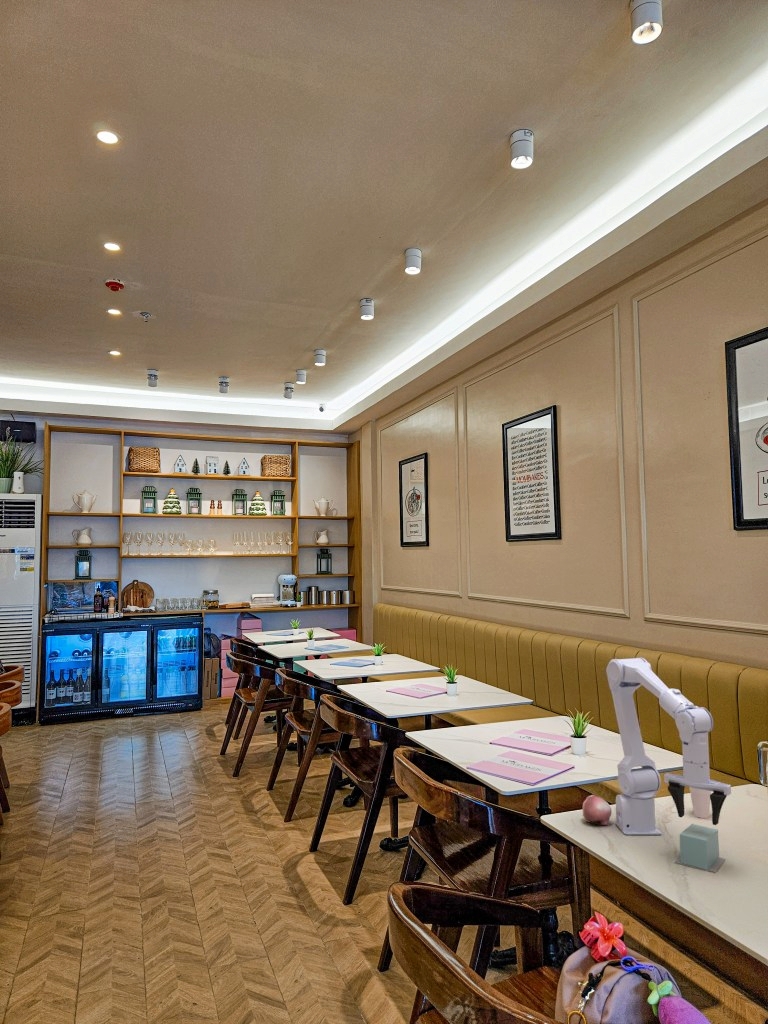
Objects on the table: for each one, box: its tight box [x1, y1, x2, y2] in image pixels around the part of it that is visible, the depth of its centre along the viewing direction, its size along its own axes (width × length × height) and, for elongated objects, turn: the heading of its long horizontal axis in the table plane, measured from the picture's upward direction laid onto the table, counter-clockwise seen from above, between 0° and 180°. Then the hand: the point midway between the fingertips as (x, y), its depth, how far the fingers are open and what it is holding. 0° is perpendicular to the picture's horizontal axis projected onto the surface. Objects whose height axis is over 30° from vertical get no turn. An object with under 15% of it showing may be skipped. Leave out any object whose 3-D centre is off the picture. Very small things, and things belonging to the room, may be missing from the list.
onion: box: [582, 794, 612, 826], centre depth 189 cm, size 8×8×7 cm
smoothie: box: [689, 787, 712, 819], centre depth 193 cm, size 6×6×14 cm
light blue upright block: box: [679, 823, 720, 871], centre depth 164 cm, size 9×6×7 cm
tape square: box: [674, 855, 726, 873], centre depth 163 cm, size 9×9×1 cm
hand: (698, 819), depth 164 cm, fingers open, 7 cm apart
